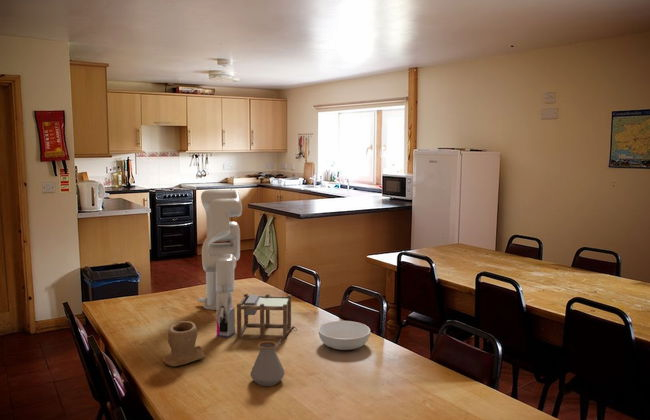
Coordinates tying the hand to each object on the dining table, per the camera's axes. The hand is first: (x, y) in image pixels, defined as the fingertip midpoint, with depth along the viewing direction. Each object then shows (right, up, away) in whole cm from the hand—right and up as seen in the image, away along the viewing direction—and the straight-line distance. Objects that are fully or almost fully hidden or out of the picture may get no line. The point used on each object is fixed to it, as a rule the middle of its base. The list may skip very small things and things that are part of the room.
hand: (225, 328), depth 224 cm
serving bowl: (+49, -5, -11) cm, 51 cm away
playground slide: (+17, +7, +2) cm, 19 cm away
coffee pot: (+25, -8, -40) cm, 48 cm away
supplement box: (0, -3, 0) cm, 3 cm away
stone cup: (-9, -6, -28) cm, 30 cm away
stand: (+16, -2, +4) cm, 17 cm away
